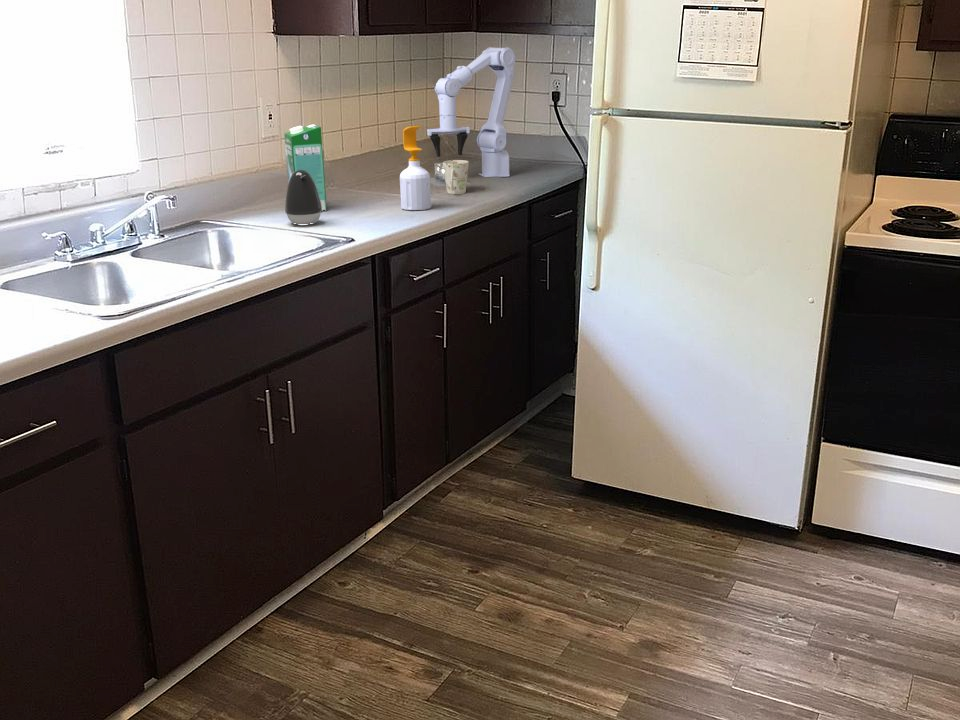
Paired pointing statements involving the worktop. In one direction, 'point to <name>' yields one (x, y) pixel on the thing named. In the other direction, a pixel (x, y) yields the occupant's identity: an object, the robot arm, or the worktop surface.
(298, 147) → the milk carton
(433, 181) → the slate board
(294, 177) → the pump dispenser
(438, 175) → the tin left
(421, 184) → the soap bottle
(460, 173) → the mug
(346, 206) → the worktop surface
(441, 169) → the tin middle
